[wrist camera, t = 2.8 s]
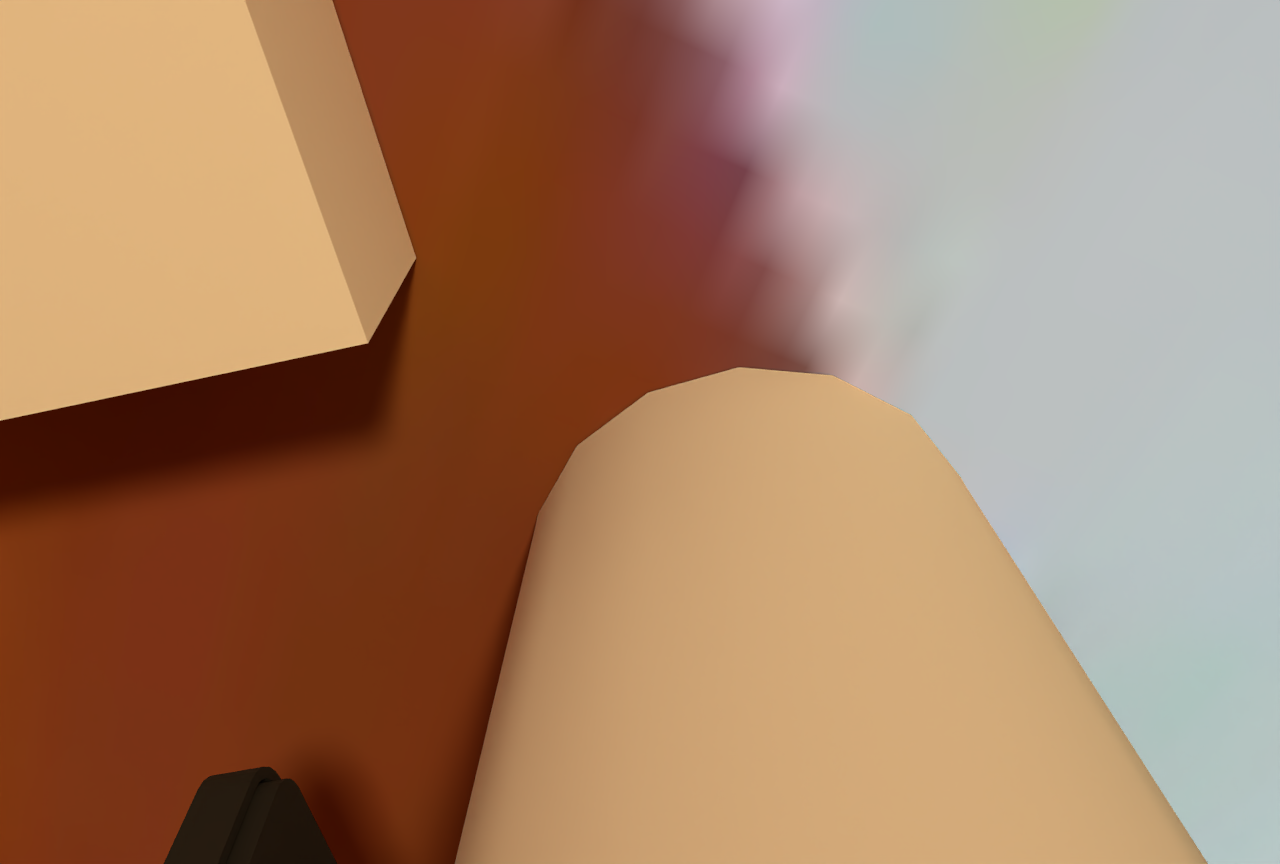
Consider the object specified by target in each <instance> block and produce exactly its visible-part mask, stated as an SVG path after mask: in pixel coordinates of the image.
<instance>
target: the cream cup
mask: <svg viewBox="0 0 1280 864" xmlns="http://www.w3.org/2000/svg"><path fill="white" fill-rule="evenodd" d="M455 864H1208V863H1207V862H1206V860H1205V859H1204V857H1203V856H1202V854H1201V852H1200V851H1199V849H1198V848H1197V846H1196V845H1195V843H1194V841H1193V840H1192V838H1191V837H1190V835H1189V834H1188V832H1187V831H1186V829H1185V827H1184V826H1183V824H1182V823H1181V821H1180V820H1179V818H1178V817H1177V815H1176V813H1175V812H1174V810H1173V809H1172V807H1171V806H1170V804H1169V802H1168V801H1167V799H1166V798H1165V796H1164V795H1163V793H1162V792H1161V790H1160V788H1159V787H1158V785H1157V784H1156V782H1155V781H1154V779H1153V778H1152V776H1151V774H1150V773H1149V771H1148V770H1147V768H1146V767H1145V765H1144V763H1143V762H1142V760H1141V759H1140V757H1139V756H1138V754H1137V753H1136V751H1135V749H1134V748H1133V746H1132V745H1131V743H1130V742H1129V740H1128V739H1127V737H1126V735H1125V734H1124V732H1123V731H1122V729H1121V728H1120V726H1119V724H1118V723H1117V721H1116V720H1115V718H1114V717H1113V715H1112V714H1111V712H1110V710H1109V709H1108V707H1107V706H1106V704H1105V703H1104V701H1103V700H1102V698H1101V696H1100V695H1099V693H1098V692H1097V690H1096V689H1095V687H1094V685H1093V684H1092V682H1091V681H1090V679H1089V678H1088V676H1087V675H1086V673H1085V671H1084V670H1083V668H1082V667H1081V665H1080V664H1079V662H1078V661H1077V659H1076V657H1075V656H1074V654H1073V653H1072V651H1071V650H1070V648H1069V646H1068V645H1067V643H1066V642H1065V640H1064V639H1063V637H1062V636H1061V634H1060V632H1059V631H1058V629H1057V628H1056V626H1055V625H1054V623H1053V622H1052V620H1051V618H1050V617H1049V615H1048V614H1047V612H1046V611H1045V609H1044V607H1043V606H1042V604H1041V603H1040V601H1039V600H1038V598H1037V597H1036V595H1035V593H1034V592H1033V590H1032V589H1031V587H1030V586H1029V584H1028V583H1027V581H1026V579H1025V578H1024V576H1023V575H1022V573H1021V572H1020V570H1019V568H1018V567H1017V565H1016V564H1015V562H1014V561H1013V559H1012V558H1011V556H1010V554H1009V553H1008V551H1007V550H1006V548H1005V547H1004V545H1003V543H1002V542H1001V540H1000V539H999V537H998V536H997V534H996V533H995V531H994V529H993V528H992V526H991V525H990V523H989V522H988V520H987V519H986V517H985V515H984V514H983V512H982V511H981V509H980V508H979V506H978V504H977V503H976V501H975V500H974V498H973V497H972V495H971V494H970V492H969V490H968V489H967V487H966V486H965V484H964V482H963V480H962V479H961V477H960V476H959V474H958V473H957V472H956V471H955V469H954V468H953V467H952V466H951V464H950V463H949V462H948V461H947V459H946V458H945V457H944V456H943V454H942V453H941V452H940V451H939V449H938V448H937V447H936V446H935V444H934V443H933V442H932V440H931V439H930V438H929V437H928V435H927V434H926V433H925V432H924V430H923V429H922V428H921V427H920V425H919V424H918V423H917V422H916V420H915V419H914V418H913V417H912V415H910V414H908V413H906V412H904V411H902V410H900V409H898V408H896V407H894V406H892V405H890V404H888V403H886V402H884V401H882V400H880V399H878V398H876V397H874V396H872V395H870V394H868V393H867V392H865V391H863V390H861V389H859V388H857V387H855V386H853V385H851V384H849V383H847V382H845V381H843V380H841V379H839V378H837V377H835V376H833V375H822V374H810V373H799V372H787V371H776V370H764V369H753V368H741V367H738V368H735V369H731V370H728V371H724V372H720V373H717V374H713V375H710V376H706V377H702V378H699V379H695V380H692V381H688V382H684V383H681V384H677V385H674V386H670V387H667V388H663V389H659V390H656V391H652V392H649V393H647V394H646V395H644V396H643V397H642V398H640V399H639V400H638V401H636V402H635V403H634V404H632V405H631V406H630V407H628V408H627V409H625V410H624V411H623V412H621V413H620V414H619V415H617V416H616V417H615V418H613V419H612V420H611V421H609V422H608V423H607V424H605V425H604V426H603V427H601V428H600V429H599V430H597V431H596V432H595V433H593V434H592V435H591V436H589V437H588V438H587V439H585V440H584V441H583V442H581V443H580V444H579V445H577V447H576V448H575V450H574V452H573V454H572V455H571V457H570V459H569V461H568V462H567V464H566V466H565V468H564V470H563V471H562V473H561V475H560V477H559V478H558V480H557V482H556V484H555V485H554V487H553V489H552V491H551V492H550V494H549V496H548V498H547V499H546V501H545V503H544V505H543V506H542V508H541V510H540V512H539V513H538V515H537V522H536V526H535V530H534V534H533V539H532V543H531V547H530V551H529V555H528V559H527V564H526V568H525V572H524V576H523V580H522V585H521V589H520V593H519V597H518V601H517V605H516V610H515V614H514V618H513V622H512V626H511V630H510V635H509V639H508V643H507V647H506V651H505V656H504V660H503V664H502V668H501V672H500V676H499V681H498V685H497V689H496V693H495V697H494V702H493V706H492V710H491V714H490V718H489V722H488V727H487V731H486V735H485V739H484V743H483V747H482V752H481V756H480V760H479V764H478V768H477V773H476V777H475V781H474V785H473V789H472V793H471V798H470V802H469V806H468V810H467V814H466V819H465V823H464V827H463V831H462V835H461V839H460V844H459V848H458V852H457V856H456V860H455Z"/></svg>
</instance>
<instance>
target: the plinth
mask: <svg viewBox="0 0 1280 864" xmlns="http://www.w3.org/2000/svg"><path fill="white" fill-rule="evenodd" d="M415 259H416V256H415V253H414V250H413V247H412V244H411V241H410V238H409V235H408V232H407V229H406V226H405V223H404V220H403V216H402V213H401V210H400V207H399V204H398V201H397V198H396V195H395V192H394V189H393V186H392V183H391V180H390V177H389V173H388V170H387V167H386V164H385V161H384V158H383V155H382V152H381V149H380V146H379V143H378V140H377V137H376V134H375V130H374V127H373V124H372V121H371V118H370V115H369V112H368V109H367V106H366V103H365V100H364V97H363V94H362V91H361V87H360V84H359V81H358V78H357V75H356V72H355V69H354V66H353V63H352V60H351V57H350V54H349V51H348V48H347V44H346V41H345V38H344V35H343V32H342V29H341V26H340V23H339V20H338V17H337V14H336V11H335V8H334V5H333V1H332V0H0V421H1V420H6V419H10V418H15V417H20V416H25V415H29V414H34V413H39V412H44V411H48V410H53V409H58V408H63V407H67V406H72V405H77V404H82V403H86V402H91V401H96V400H101V399H105V398H110V397H115V396H120V395H124V394H129V393H134V392H139V391H143V390H148V389H153V388H158V387H162V386H167V385H172V384H177V383H181V382H186V381H191V380H196V379H200V378H205V377H210V376H215V375H219V374H224V373H229V372H234V371H238V370H243V369H248V368H253V367H257V366H262V365H267V364H272V363H276V362H281V361H286V360H291V359H295V358H300V357H305V356H310V355H314V354H319V353H324V352H329V351H333V350H338V349H343V348H348V347H352V346H357V345H362V344H367V343H368V342H369V341H370V339H371V337H372V335H373V334H374V332H375V330H376V328H377V327H378V325H379V323H380V321H381V319H382V318H383V316H384V314H385V312H386V311H387V309H388V307H389V305H390V303H391V302H392V300H393V298H394V296H395V295H396V293H397V291H398V289H399V287H400V286H401V284H402V282H403V280H404V279H405V277H406V275H407V273H408V271H409V270H410V268H411V266H412V264H413V263H414V261H415Z"/></svg>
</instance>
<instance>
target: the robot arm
mask: <svg viewBox="0 0 1280 864" xmlns="http://www.w3.org/2000/svg"><path fill="white" fill-rule="evenodd" d="M164 864H337V863H336V861H335V859H334V857H333V855H332V853H331V851H330V849H329V847H328V845H327V843H326V841H325V839H324V837H323V835H322V833H321V831H320V829H319V827H318V825H317V823H316V821H315V819H314V817H313V815H312V813H311V811H310V809H309V807H308V805H307V803H306V801H305V799H304V797H303V795H302V793H301V791H300V789H299V787H298V786H297V784H296V783H295V782H294V781H293V780H291V779H282V780H281V778H280V777H279V776H278V774H277V773H276V771H275V770H273V769H272V768H270V767H260V768H254V769H248V770H242V771H237V772H231V773H225V774H219V775H213V776H210V777H208V778H207V779H205V780H204V781H203V782H202V784H201V786H200V787H199V789H198V791H197V793H196V795H195V797H194V799H193V801H192V804H191V806H190V808H189V810H188V812H187V814H186V817H185V819H184V821H183V823H182V825H181V827H180V830H179V832H178V834H177V836H176V838H175V840H174V843H173V845H172V847H171V849H170V851H169V854H168V856H167V858H166V860H165V862H164Z"/></svg>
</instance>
